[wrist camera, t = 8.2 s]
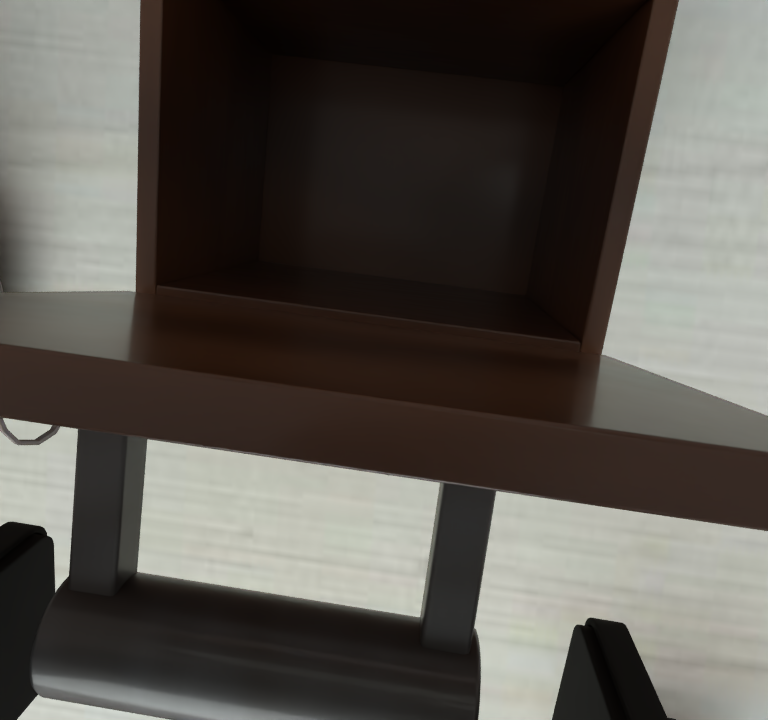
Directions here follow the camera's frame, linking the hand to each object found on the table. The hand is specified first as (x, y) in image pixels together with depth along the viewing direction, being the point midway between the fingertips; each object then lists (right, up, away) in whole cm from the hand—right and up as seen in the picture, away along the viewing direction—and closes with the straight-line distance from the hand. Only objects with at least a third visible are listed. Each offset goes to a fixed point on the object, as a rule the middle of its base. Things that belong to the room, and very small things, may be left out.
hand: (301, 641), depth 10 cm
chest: (+2, +13, +15) cm, 20 cm away
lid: (0, +5, +1) cm, 5 cm away
